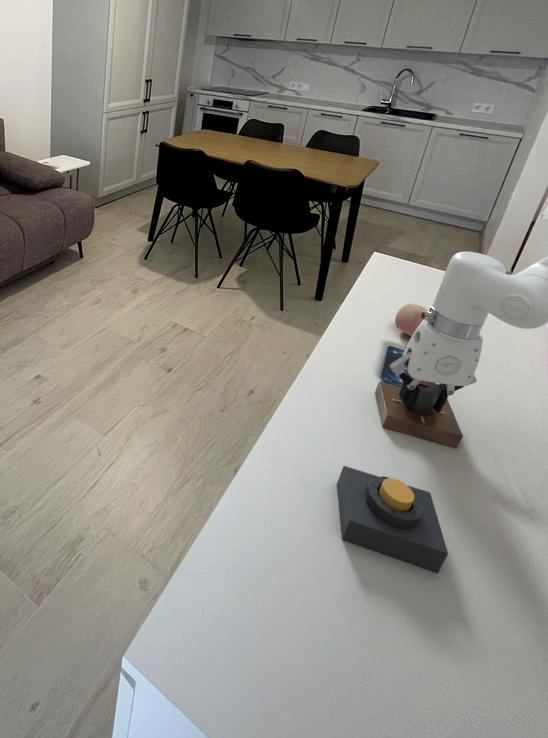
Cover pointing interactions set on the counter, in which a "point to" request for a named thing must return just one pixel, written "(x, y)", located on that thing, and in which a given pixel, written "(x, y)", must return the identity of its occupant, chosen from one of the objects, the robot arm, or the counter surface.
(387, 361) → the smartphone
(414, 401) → the dial
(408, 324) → the apple
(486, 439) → the counter surface
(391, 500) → the yellow button cap
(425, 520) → the button base
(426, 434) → the dial panel
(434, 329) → the robot arm
